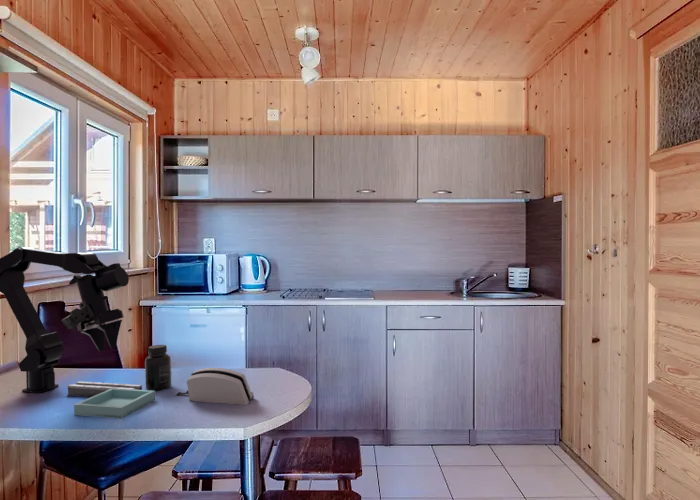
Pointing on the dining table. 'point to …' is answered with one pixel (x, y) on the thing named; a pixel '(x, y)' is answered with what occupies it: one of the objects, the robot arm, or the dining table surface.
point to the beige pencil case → (219, 386)
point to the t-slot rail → (97, 388)
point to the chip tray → (114, 403)
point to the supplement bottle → (158, 368)
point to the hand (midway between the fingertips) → (107, 349)
